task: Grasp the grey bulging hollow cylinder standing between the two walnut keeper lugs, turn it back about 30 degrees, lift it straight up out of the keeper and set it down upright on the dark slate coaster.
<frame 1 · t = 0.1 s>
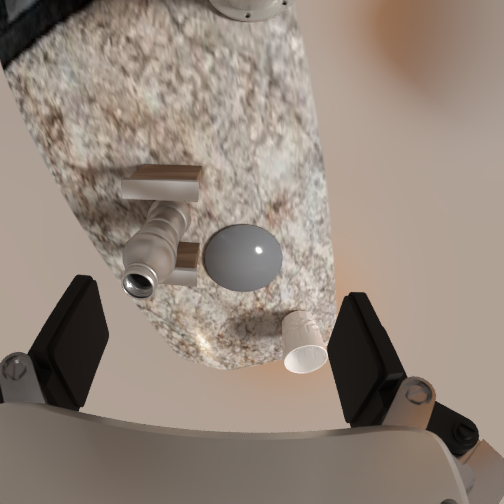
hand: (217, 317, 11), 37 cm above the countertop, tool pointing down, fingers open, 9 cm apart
grey bulging hollow cylinder: (172, 210, 48), on the countertop
coaster: (243, 259, 53), on the countertop
white cup: (297, 321, 61), on the countertop
keeper: (172, 210, 48), on the countertop
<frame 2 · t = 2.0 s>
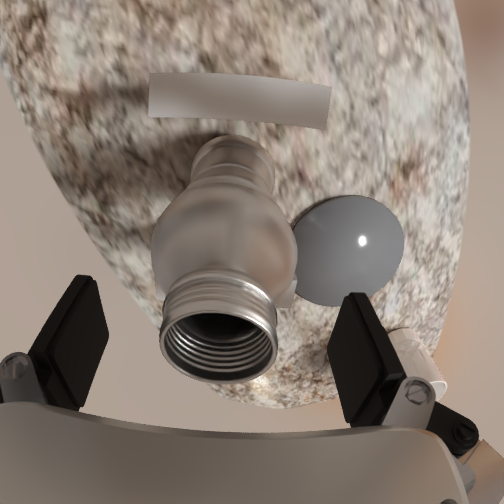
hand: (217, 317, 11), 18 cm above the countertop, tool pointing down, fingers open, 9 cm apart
grey bulging hollow cylinder: (233, 165, 26), on the countertop
coaster: (345, 254, 31), on the countertop
white cup: (395, 343, 40), on the countertop
keeper: (233, 166, 26), on the countertop
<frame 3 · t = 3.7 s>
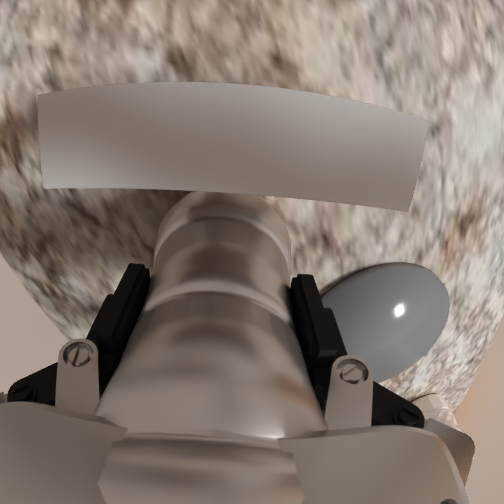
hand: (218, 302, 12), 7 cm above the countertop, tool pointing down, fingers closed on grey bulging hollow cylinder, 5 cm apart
grey bulging hollow cylinder: (225, 226, 18), on the countertop, touching gripper
coaster: (376, 333, 22), on the countertop
white cup: (417, 407, 31), on the countertop
keeper: (225, 228, 18), on the countertop
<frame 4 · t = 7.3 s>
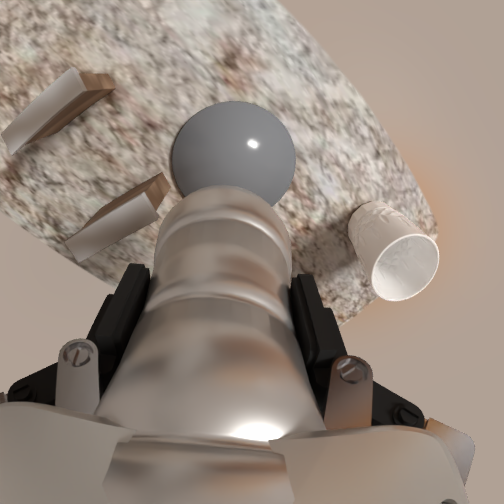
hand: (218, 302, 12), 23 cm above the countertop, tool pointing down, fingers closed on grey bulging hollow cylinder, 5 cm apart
grey bulging hollow cylinder: (225, 227, 18), point 17 cm above the countertop, touching gripper
coaster: (233, 161, 32), on the countertop
white cup: (371, 225, 37), on the countertop
keeper: (106, 150, 31), on the countertop
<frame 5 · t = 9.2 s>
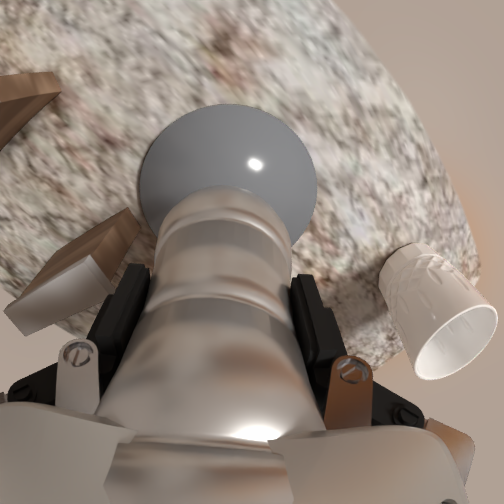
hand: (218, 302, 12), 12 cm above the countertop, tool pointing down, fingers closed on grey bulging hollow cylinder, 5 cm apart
grey bulging hollow cylinder: (225, 227, 18), point 6 cm above the countertop, touching gripper
coaster: (227, 192, 23), on the countertop
white cup: (407, 271, 27), on the countertop
keeper: (54, 177, 21), on the countertop
when the fingers open (8 cm above the countertop, at t = 10.9 s): grey bulging hollow cylinder moves 1 cm, resting on coaster.
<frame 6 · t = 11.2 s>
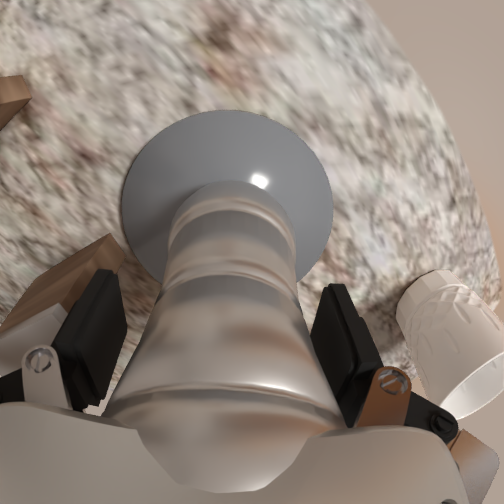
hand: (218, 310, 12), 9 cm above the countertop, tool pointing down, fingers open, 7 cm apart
grey bulging hollow cylinder: (232, 221, 19), resting on coaster
coaster: (226, 216, 19), on the countertop
white cup: (427, 299, 24), on the countertop
keeper: (28, 197, 17), on the countertop
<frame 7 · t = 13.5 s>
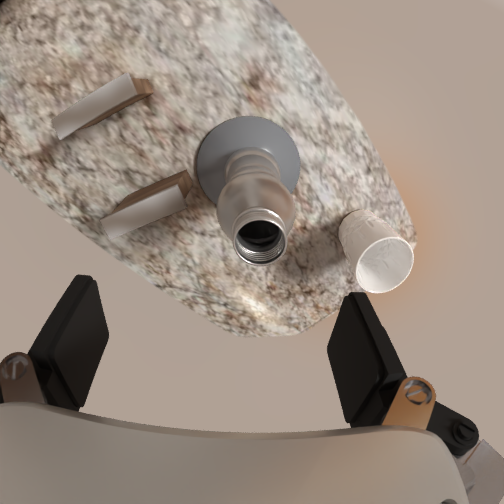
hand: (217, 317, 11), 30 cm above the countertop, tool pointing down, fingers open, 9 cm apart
grey bulging hollow cylinder: (251, 168, 38), resting on coaster
coaster: (248, 166, 39), on the countertop
white cup: (359, 229, 44), on the countertop
keeper: (139, 145, 37), on the countertop
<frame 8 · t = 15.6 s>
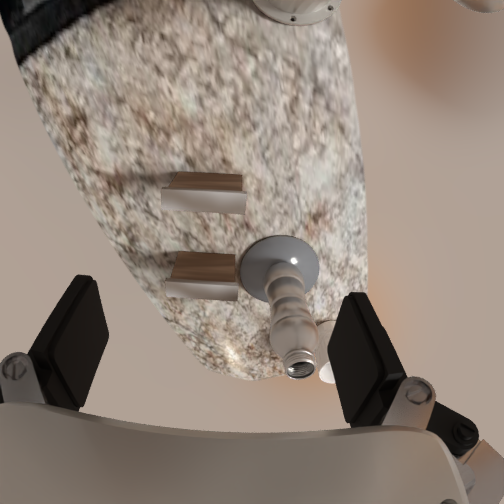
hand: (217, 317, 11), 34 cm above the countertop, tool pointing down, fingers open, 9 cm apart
grey bulging hollow cylinder: (281, 273, 51), resting on coaster
coaster: (279, 270, 52), on the countertop
white cup: (328, 331, 60), on the countertop
keeper: (207, 221, 47), on the countertop
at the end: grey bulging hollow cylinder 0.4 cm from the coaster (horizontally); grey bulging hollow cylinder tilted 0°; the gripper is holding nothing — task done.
